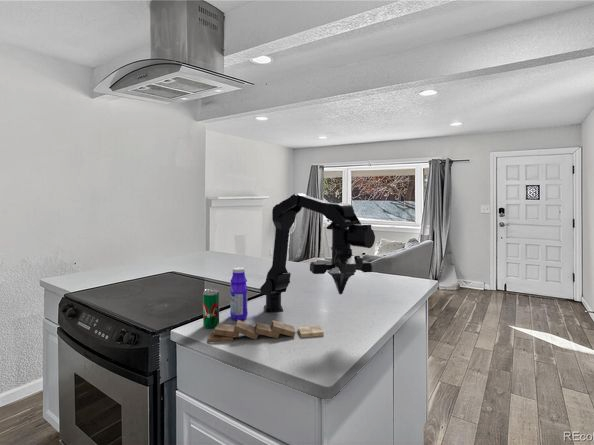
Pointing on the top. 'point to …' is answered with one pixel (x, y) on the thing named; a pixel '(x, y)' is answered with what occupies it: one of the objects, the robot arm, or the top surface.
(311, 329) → the oak domino
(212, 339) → the domino
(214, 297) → the soda can
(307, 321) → the top surface
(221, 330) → the domino
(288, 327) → the domino
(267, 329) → the domino
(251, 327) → the domino
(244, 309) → the bottle
